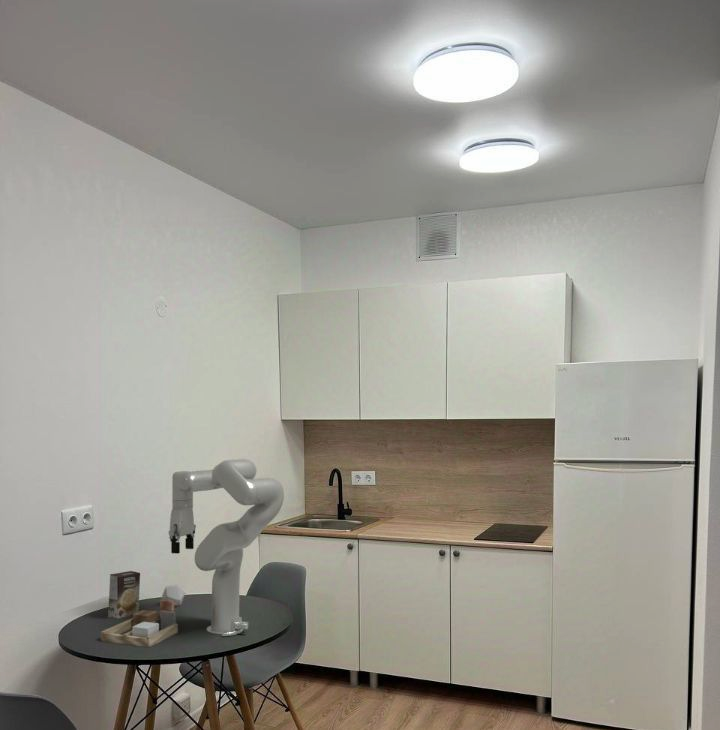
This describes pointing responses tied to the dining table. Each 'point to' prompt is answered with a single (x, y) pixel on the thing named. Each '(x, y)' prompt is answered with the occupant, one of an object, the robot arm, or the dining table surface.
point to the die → (173, 594)
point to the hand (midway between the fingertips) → (182, 551)
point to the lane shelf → (127, 638)
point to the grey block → (154, 625)
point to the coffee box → (124, 594)
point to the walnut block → (152, 613)
